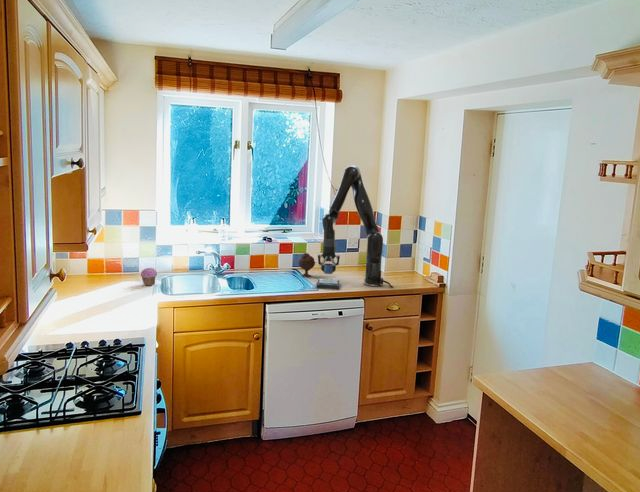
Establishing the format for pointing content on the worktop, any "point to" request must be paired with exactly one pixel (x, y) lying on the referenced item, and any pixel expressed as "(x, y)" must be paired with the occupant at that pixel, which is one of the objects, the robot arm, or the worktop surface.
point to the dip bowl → (328, 268)
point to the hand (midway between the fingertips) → (328, 271)
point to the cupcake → (148, 276)
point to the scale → (328, 284)
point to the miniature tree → (306, 263)
